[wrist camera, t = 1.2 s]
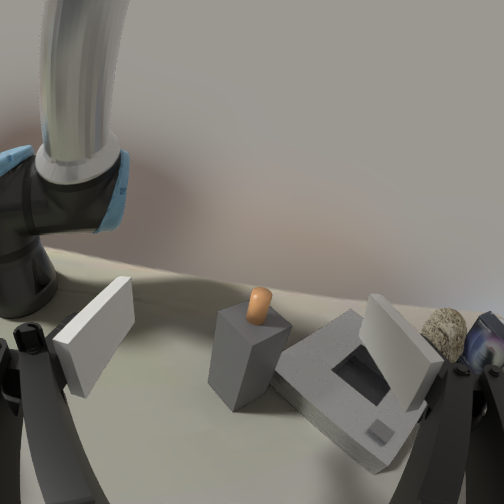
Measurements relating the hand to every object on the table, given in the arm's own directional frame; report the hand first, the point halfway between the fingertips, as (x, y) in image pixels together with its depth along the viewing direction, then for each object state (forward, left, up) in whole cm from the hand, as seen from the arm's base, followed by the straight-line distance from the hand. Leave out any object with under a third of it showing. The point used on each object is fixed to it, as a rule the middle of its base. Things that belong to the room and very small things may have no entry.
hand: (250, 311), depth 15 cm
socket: (+5, +21, -20) cm, 29 cm away
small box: (+22, +43, -20) cm, 52 cm away
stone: (+12, +38, -20) cm, 44 cm away
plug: (-5, +7, -20) cm, 22 cm away
